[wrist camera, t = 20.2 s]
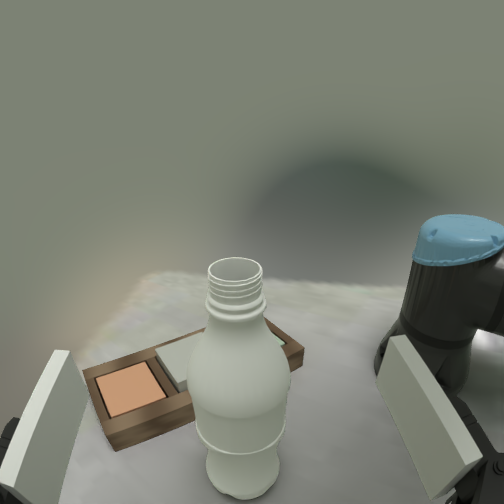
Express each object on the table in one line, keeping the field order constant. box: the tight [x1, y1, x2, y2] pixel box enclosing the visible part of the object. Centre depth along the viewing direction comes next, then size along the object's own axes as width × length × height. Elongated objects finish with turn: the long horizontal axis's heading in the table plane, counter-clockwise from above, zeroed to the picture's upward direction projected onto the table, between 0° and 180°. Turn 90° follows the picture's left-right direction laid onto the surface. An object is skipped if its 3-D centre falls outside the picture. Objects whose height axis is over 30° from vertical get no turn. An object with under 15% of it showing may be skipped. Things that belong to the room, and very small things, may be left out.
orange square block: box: [96, 362, 166, 419], centre depth 36 cm, size 7×7×3 cm
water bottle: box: [187, 257, 291, 500], centre depth 23 cm, size 7×7×25 cm
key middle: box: [155, 332, 203, 394], centre depth 40 cm, size 7×7×3 cm
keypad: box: [82, 317, 304, 452], centre depth 41 cm, size 28×12×4 cm, turn 125°
